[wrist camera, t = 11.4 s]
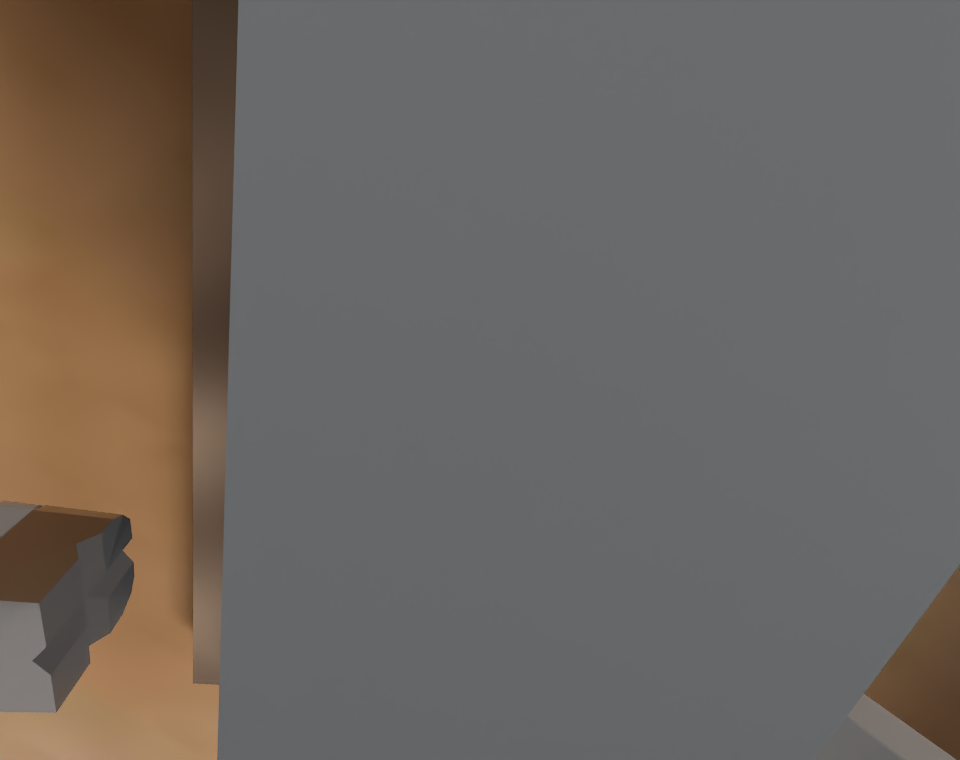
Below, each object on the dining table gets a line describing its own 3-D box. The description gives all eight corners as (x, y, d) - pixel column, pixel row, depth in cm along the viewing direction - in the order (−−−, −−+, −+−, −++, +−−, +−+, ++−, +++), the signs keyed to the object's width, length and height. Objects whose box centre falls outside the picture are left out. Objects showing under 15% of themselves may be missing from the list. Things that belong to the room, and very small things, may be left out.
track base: (505, 665, 22) (521, 767, 18) (209, 646, 20) (159, 758, 16) (759, -90, 12) (905, -200, 8) (224, -285, 10) (105, -548, 6)
